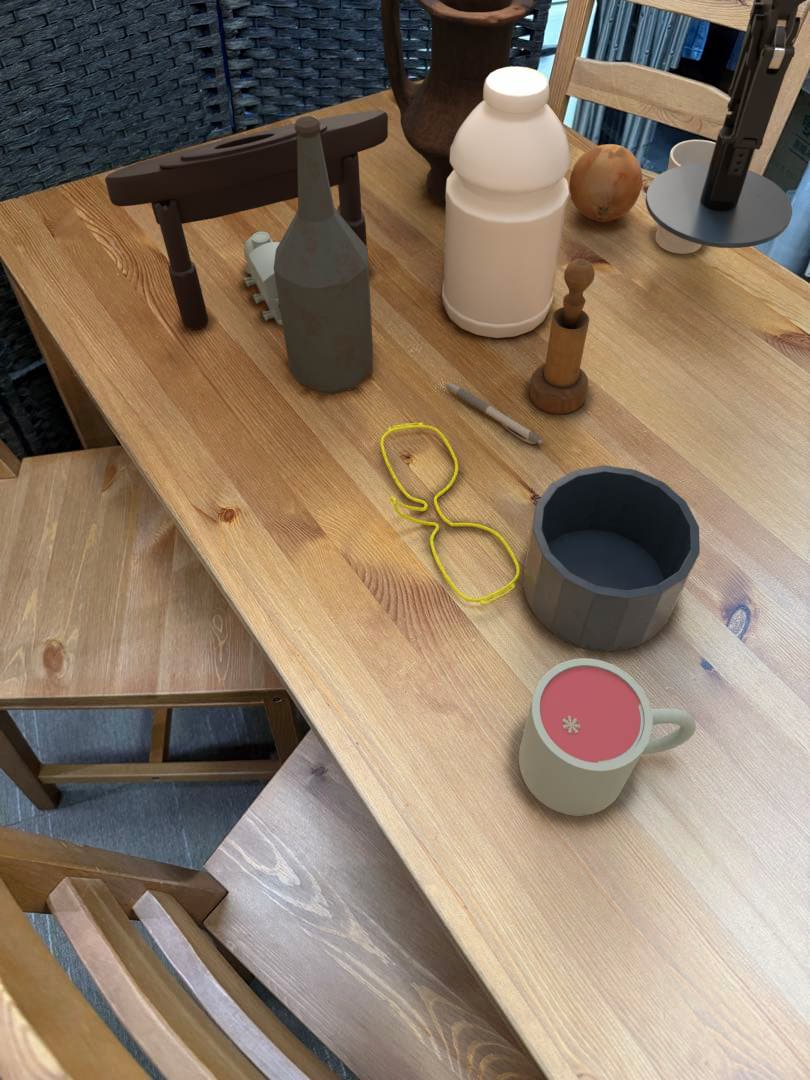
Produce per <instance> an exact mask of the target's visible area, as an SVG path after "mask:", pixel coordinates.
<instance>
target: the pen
mask: <svg viewBox="0 0 810 1080" xmlns="http://www.w3.org/2000/svg"><path fill="white" fill-rule="evenodd" d="M445 385H446V387H447V389H448V390H450V391H451V392H452V394H454V395H456V396H457V397H459V398H460V399H462V400H463V401H465V402H467V403H468V404H470V405H472V406H473V407H475V408H476V409H478V410H480V411H481V412H483V413H484V414H486V415H488V416H490V417H492V418H493V419H494V420H496V421H498V422H499V423H500V424H501V425H502V426H503V427H504V428H505V429H506V430H507V431H509V433H511V434H512V435H514V436H515V437H517V438H518V439H520V440H522V441H523V442H524V443H528V444H530V445H535V444H539V445H542V444H543V440H541V437H540V436H539V435H537V434H536V433H535V432H533V431H531V430H530V429H528V428H527V427H525V426H523V425H522V424H521V423H518V422H517V421H515V420H514V419H512V418H510V417H509V416H508V415H506V414H504V413H503V412H500V411H499V410H497V409H496V408H494V407H493V406H492V405H491V404H488V403H487V402H485V401H483V400H482V399H481V398H479V397H477V396H475V395H474V394H472V393H471V392H469V391H467V390H466V389H464V388H463V387H461V386H458V385H456V384H454V383H451V382H445Z"/></svg>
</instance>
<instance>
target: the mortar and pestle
mask: <svg viewBox="0 0 810 1080" xmlns="http://www.w3.org/2000/svg"><path fill="white" fill-rule="evenodd" d="M595 274H596V273H595V268H594V266H593V264H592V263H591V262H590V261H588V260H586V259H583V258H576V259H574V260H572V261H571V262H569V263H568V264H567V265H566V268H565V269H564V273H563V278H564V282H565V285H566V287H567V289H568V293H566V294H565V295H564V296H563V299H562V307H560V308H556V310H554V311H553V313H552V316H551V321H550V327H549V328H550V329H549V334H548V335H549V336H548V342H547V349H546V356H545V362H544V363H542V364H541V365H539V366H538V367H536V368H535V370H534V371H533V373H532V375H531V380H530V385H529V397H530V400H531V402H532V403H533V404H534V405H535V406H536V407H537V408H538V409H540V410H542V411H543V412H546V413H549V414H553V415H554V414H555V415H563V414H564V415H565V414H569V413H573V412H575V411H576V410H578V409H580V408H581V407H582V405H583V404H584V403H585V401H586V397H587V393H588V388H589V378H588V376H587V373H585V371H584V369H582V368H581V366H582V359H583V355H584V348H585V344H586V339H587V333H588V329H589V324H590V316H589V314H588V313H587V312H586V311H584V307H585V305H586V298H585V296H584V293H585V291H586V290H587V289H588V288H590V286H591V285H592V283H593V282H594V280H595Z"/></svg>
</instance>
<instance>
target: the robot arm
mask: <svg viewBox="0 0 810 1080" xmlns="http://www.w3.org/2000/svg"><path fill="white" fill-rule="evenodd" d="M807 1H808V0H753V3H752V7H751V8H750V13H749V19H748V23H747V26H746V30H745V34H744V37H743V41H742V44H741V48H740V52H739V55H738V59H737V63H736V65H735V70H734V73H733V76H732V79H731V84H730V87H729V88H728V92H727V93H728V98H730V99H729V101H728V103H727V112H728V113H726V114H725V118H724V121H723V125H722V128H723V127H725V126H728V125H734V129H733V133H732V135H731V136H726V135H724V137H723V144H726V147H725V150H724V153H723V157H722V160H721V163H720V167H719V170H718V174H717V177H716V180H715V184H714V187H713V190H712V194H711V201H722V202H734V203H737V201H738V198H739V195H740V192H741V189H742V186H743V183H744V179H745V176H746V173H747V170H748V167H749V164H750V161H751V158H752V155H753V152H754V149H755V150H760V149H761V148H762V147H761V146H762V145H763V143H764V138H765V135H766V132H767V129H768V126H769V123H770V120H771V117H772V114H773V111H774V108H775V106H776V103H777V99H778V96H779V94H780V90H781V87H782V84H783V82H784V80H785V75H786V74H787V71H788V69H789V67H790V65H791V62H792V60H793V58H794V57H795V54H796V52H795V49H796V48H795V46H794V45H792V43H793V41H794V40H795V39H796V38H797V35H798V33H799V28H800V25H801V20H802V19H801V18H802V17H801V16H797V14H798V10H799V7H800V5H802V4H803V3H805V2H807ZM729 112H730V114H729ZM754 153H755V152H754ZM753 156H754V155H753ZM752 159H753V158H752ZM751 162H752V161H751ZM750 165H751V164H750ZM749 168H750V167H749Z"/></svg>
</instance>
